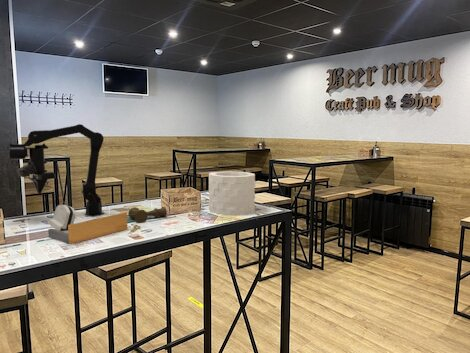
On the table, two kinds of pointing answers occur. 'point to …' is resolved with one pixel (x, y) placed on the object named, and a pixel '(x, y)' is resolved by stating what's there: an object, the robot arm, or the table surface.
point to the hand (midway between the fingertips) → (39, 193)
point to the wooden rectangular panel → (91, 228)
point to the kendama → (145, 214)
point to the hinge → (62, 217)
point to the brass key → (135, 228)
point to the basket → (231, 193)
